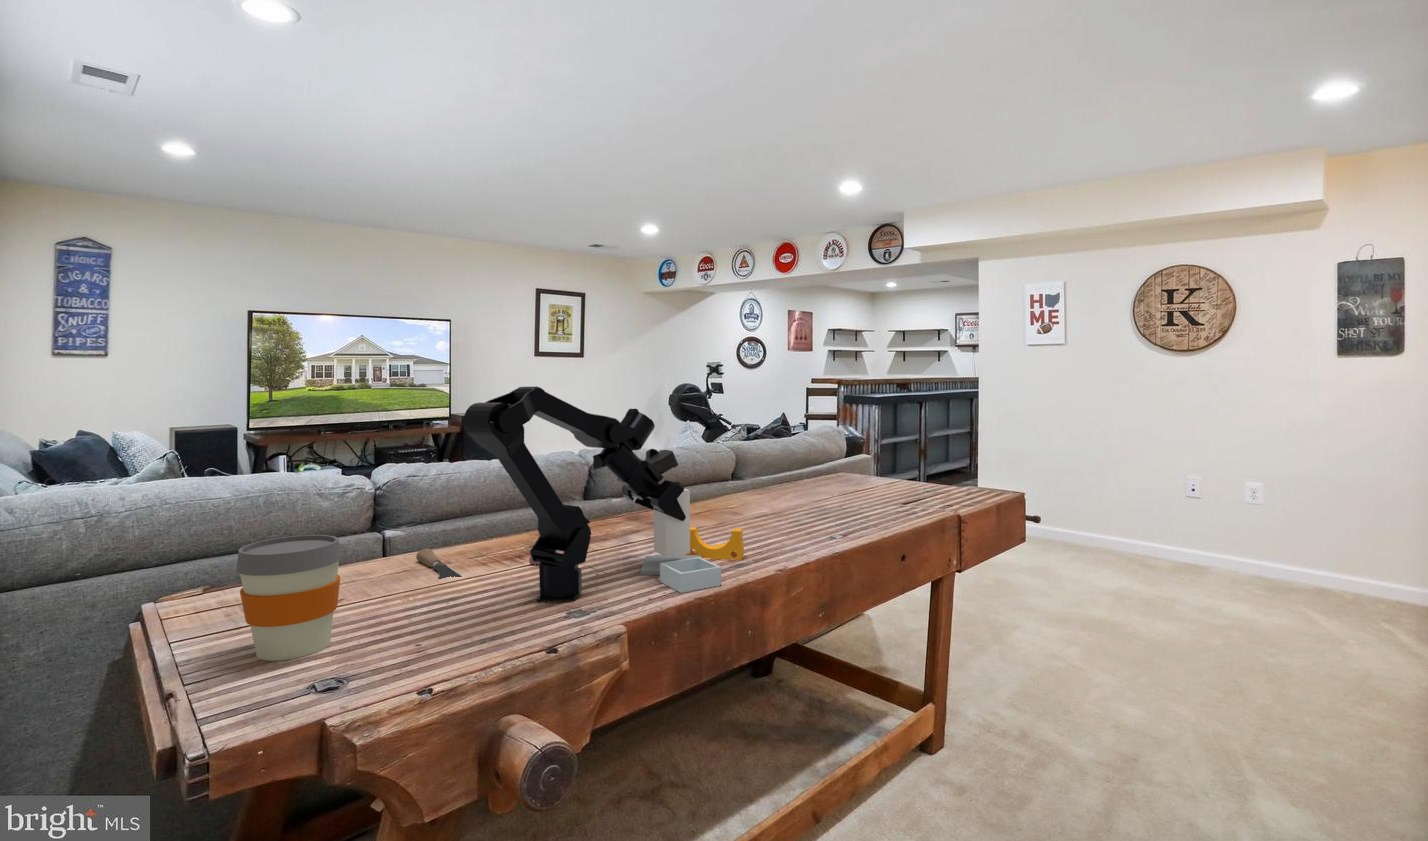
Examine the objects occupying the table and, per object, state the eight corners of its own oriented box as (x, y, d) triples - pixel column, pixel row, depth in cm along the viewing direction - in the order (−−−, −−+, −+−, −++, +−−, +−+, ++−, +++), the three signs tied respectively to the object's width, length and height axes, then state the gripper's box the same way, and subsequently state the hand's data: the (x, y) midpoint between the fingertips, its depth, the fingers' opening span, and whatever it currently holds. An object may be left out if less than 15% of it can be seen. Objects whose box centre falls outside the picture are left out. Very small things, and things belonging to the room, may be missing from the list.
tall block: (665, 556, 131) (665, 492, 131) (654, 550, 136) (653, 488, 136) (690, 553, 134) (689, 489, 134) (677, 547, 139) (677, 486, 138)
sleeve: (680, 593, 118) (680, 573, 118) (660, 581, 125) (659, 563, 125) (721, 585, 122) (721, 566, 122) (698, 574, 129) (698, 557, 129)
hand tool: (449, 584, 121) (405, 552, 139) (450, 599, 121) (406, 566, 140) (479, 576, 125) (432, 546, 143) (480, 592, 125) (433, 560, 143)
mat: (640, 575, 129) (640, 571, 129) (646, 559, 141) (646, 555, 141) (701, 574, 130) (701, 570, 130) (701, 558, 142) (701, 555, 141)
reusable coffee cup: (358, 646, 94) (354, 542, 94) (254, 674, 85) (249, 560, 84) (327, 625, 103) (323, 530, 102) (229, 649, 94) (225, 545, 93)
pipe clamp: (743, 556, 144) (743, 527, 144) (740, 561, 140) (740, 531, 140) (690, 554, 146) (690, 525, 146) (686, 559, 142) (685, 529, 142)
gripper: (674, 439, 124) (724, 493, 130) (634, 434, 140) (680, 482, 146) (636, 484, 121) (690, 537, 127) (600, 473, 137) (648, 521, 143)
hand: (677, 516), depth 136 cm, fingers closed on tall block, 5 cm apart
